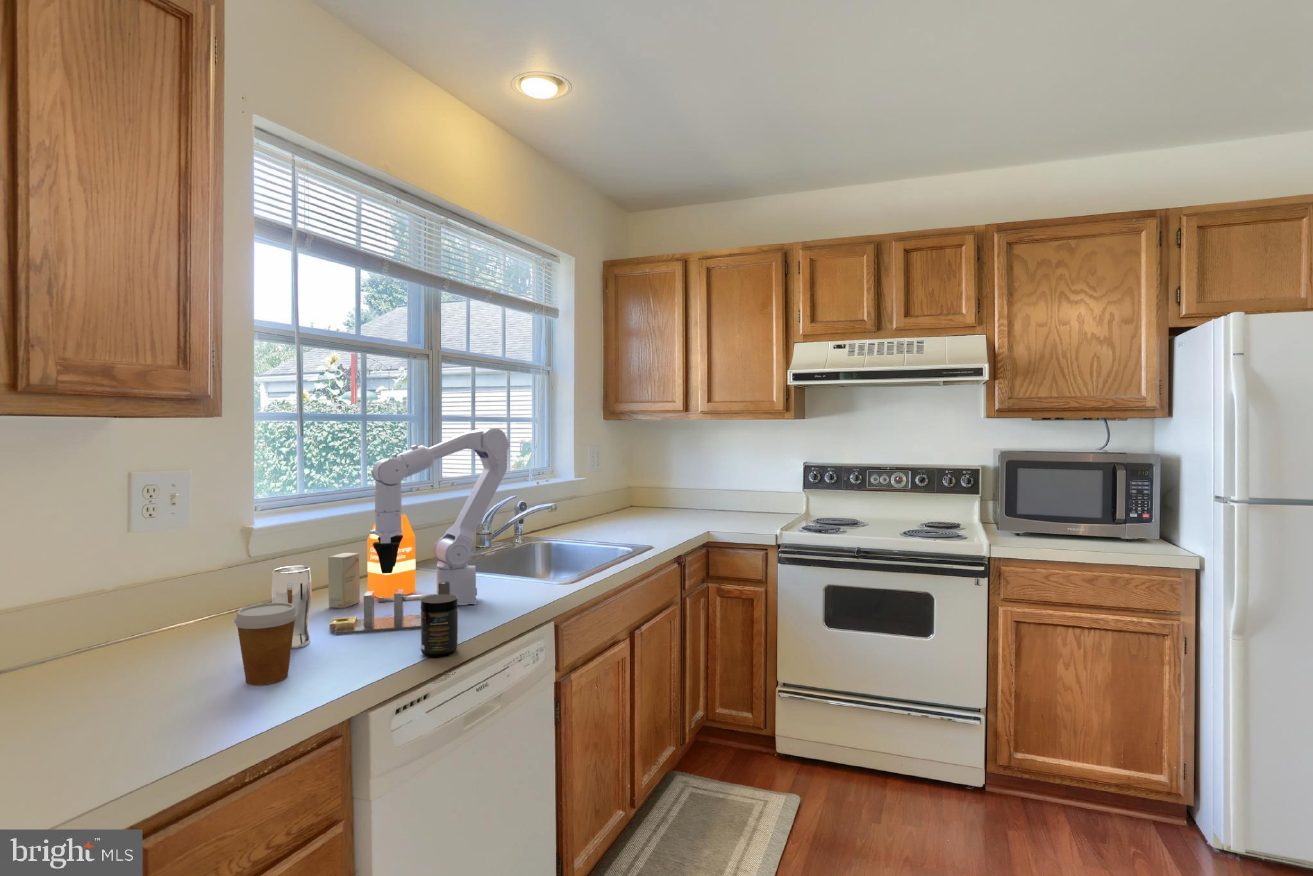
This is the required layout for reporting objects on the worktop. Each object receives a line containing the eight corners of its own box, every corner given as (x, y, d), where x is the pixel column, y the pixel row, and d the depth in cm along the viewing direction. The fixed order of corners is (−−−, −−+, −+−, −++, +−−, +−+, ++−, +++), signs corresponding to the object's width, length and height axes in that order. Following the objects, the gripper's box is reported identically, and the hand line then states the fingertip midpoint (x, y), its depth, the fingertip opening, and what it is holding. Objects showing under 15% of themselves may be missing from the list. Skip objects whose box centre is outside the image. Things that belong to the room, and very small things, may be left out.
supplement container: (463, 654, 132) (463, 599, 131) (428, 661, 127) (427, 605, 127) (450, 645, 137) (450, 592, 137) (415, 652, 133) (415, 597, 133)
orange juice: (367, 595, 177) (366, 516, 176) (396, 588, 184) (396, 513, 184) (387, 599, 173) (386, 519, 172) (416, 591, 180) (415, 515, 180)
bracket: (428, 616, 157) (428, 585, 157) (427, 628, 148) (426, 594, 148) (342, 623, 152) (342, 590, 152) (335, 635, 143) (335, 600, 143)
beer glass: (320, 641, 139) (319, 567, 138) (288, 652, 132) (287, 574, 132) (296, 637, 142) (295, 564, 141) (264, 647, 135) (263, 570, 135)
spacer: (357, 616, 151) (333, 617, 149) (353, 622, 146) (329, 624, 145) (357, 621, 151) (333, 623, 150) (353, 628, 146) (329, 630, 145)
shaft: (449, 605, 155) (449, 581, 155) (449, 608, 153) (449, 583, 152) (379, 610, 151) (379, 585, 151) (378, 613, 148) (377, 588, 148)
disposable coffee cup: (253, 693, 112) (253, 619, 112) (223, 682, 117) (222, 611, 117) (310, 675, 120) (309, 606, 120) (279, 665, 125) (278, 599, 125)
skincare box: (344, 608, 164) (343, 557, 163) (327, 607, 165) (327, 556, 164) (360, 602, 170) (360, 552, 170) (344, 601, 171) (344, 551, 170)
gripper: (373, 507, 166) (373, 564, 166) (365, 515, 152) (366, 577, 152) (404, 506, 168) (405, 562, 168) (399, 514, 154) (400, 575, 154)
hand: (388, 569), depth 160 cm, fingers open, 7 cm apart
